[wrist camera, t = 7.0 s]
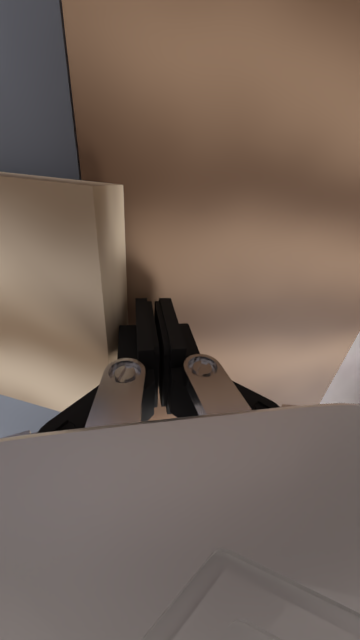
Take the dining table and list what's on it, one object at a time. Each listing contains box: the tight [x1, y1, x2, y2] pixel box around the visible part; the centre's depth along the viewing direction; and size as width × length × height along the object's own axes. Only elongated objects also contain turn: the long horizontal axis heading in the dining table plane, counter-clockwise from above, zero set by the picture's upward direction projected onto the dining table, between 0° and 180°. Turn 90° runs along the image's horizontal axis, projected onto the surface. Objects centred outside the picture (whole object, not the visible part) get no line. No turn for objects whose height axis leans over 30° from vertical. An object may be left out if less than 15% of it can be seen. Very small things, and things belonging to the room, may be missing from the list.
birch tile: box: [0, 172, 128, 412], centre depth 11 cm, size 11×8×2 cm
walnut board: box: [62, 0, 360, 421], centre depth 15 cm, size 24×16×3 cm, turn 175°
